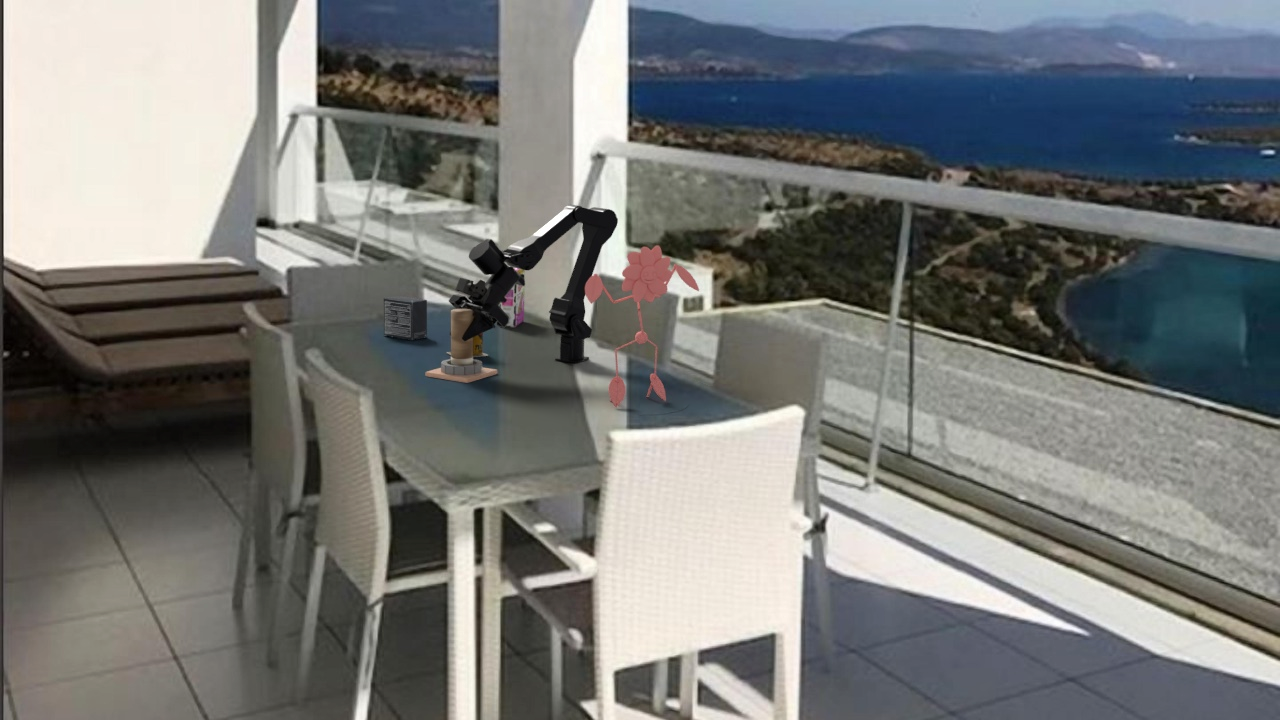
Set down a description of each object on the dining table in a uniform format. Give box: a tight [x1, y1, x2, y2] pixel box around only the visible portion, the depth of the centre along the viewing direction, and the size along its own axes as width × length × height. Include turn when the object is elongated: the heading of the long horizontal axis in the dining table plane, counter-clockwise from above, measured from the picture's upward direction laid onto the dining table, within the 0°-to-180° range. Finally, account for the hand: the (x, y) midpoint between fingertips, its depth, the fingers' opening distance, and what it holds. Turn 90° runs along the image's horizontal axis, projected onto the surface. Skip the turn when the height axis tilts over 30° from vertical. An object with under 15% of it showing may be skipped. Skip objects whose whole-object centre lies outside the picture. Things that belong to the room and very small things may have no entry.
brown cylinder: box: [450, 308, 474, 366], centre depth 303 cm, size 5×5×13 cm
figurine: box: [585, 245, 700, 408], centre depth 275 cm, size 15×26×35 cm, turn 118°
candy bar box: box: [499, 265, 526, 329], centre depth 369 cm, size 11×5×16 cm, turn 172°
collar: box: [424, 358, 498, 384], centre depth 304 cm, size 12×12×3 cm
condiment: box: [446, 316, 489, 358], centre depth 326 cm, size 7×8×12 cm
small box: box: [383, 295, 428, 341], centre depth 347 cm, size 11×6×10 cm, turn 58°
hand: (457, 338), depth 302 cm, fingers closed on brown cylinder, 5 cm apart
